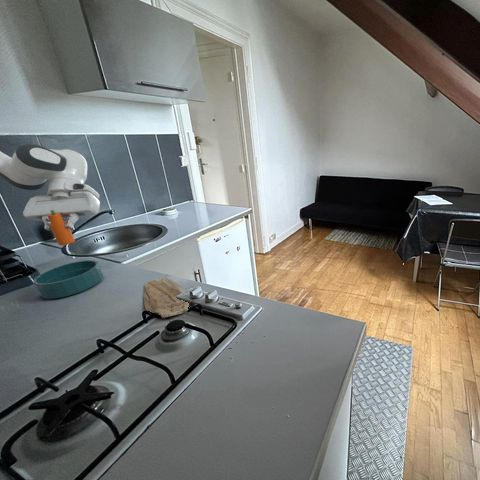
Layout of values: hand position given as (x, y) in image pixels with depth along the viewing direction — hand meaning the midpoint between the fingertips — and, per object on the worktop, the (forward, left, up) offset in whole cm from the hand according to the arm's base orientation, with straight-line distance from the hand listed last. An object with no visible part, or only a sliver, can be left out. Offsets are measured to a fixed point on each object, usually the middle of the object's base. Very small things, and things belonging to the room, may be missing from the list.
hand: (58, 228), depth 85 cm
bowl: (-4, -8, -17) cm, 20 cm away
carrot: (0, 0, -5) cm, 5 cm away
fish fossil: (+6, -42, -17) cm, 46 cm away
